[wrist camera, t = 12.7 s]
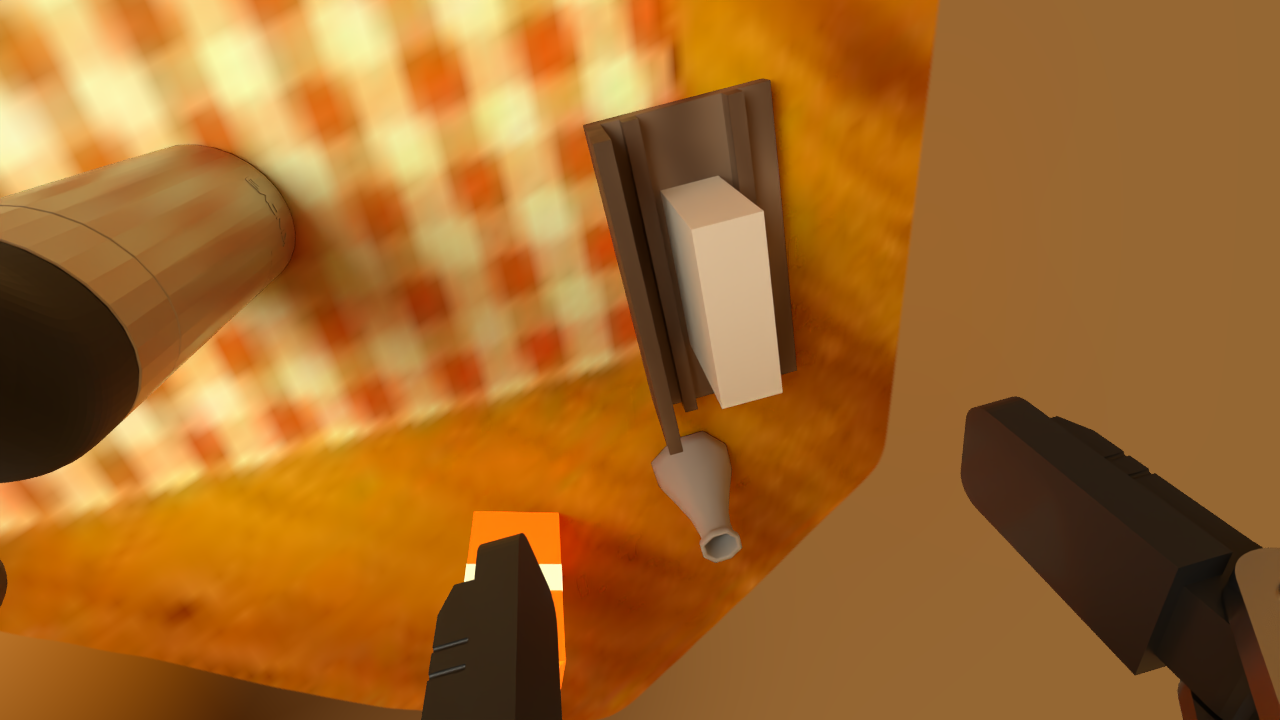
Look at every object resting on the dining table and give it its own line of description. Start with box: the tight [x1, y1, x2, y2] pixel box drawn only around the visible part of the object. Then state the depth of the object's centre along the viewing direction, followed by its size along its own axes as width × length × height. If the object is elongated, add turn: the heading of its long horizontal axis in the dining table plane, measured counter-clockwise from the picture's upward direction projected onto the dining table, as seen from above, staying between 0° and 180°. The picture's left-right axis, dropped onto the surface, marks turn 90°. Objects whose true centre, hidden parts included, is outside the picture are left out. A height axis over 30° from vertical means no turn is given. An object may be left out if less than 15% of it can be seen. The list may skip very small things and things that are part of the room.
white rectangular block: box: [660, 176, 783, 409], centre depth 38 cm, size 12×4×9 cm, turn 12°
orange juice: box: [464, 511, 566, 690], centre depth 46 cm, size 8×9×20 cm
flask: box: [651, 431, 742, 563], centre depth 48 cm, size 7×7×10 cm
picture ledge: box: [583, 79, 797, 455], centre depth 40 cm, size 12×22×8 cm, turn 12°
